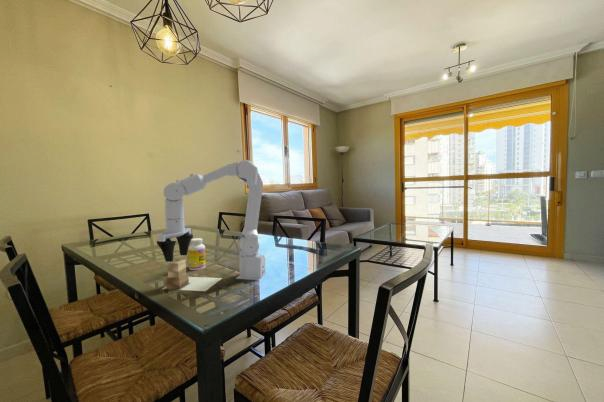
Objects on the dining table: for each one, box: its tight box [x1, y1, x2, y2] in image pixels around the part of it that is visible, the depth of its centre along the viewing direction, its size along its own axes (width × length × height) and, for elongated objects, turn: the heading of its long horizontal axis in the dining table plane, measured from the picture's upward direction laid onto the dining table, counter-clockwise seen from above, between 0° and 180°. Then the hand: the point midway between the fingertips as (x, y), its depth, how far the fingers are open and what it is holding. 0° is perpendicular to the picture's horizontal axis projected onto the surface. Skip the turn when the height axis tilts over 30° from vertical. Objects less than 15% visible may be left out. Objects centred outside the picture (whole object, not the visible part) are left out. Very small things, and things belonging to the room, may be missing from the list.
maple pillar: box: [166, 259, 187, 278], centre depth 86 cm, size 4×4×5 cm
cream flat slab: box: [161, 276, 223, 292], centre depth 89 cm, size 16×12×1 cm
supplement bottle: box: [187, 237, 207, 271], centre depth 107 cm, size 7×7×13 cm
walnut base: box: [165, 273, 190, 290], centre depth 86 cm, size 5×5×4 cm
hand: (176, 258), depth 86 cm, fingers open, 7 cm apart
